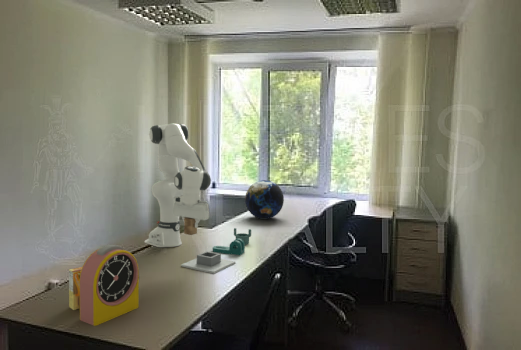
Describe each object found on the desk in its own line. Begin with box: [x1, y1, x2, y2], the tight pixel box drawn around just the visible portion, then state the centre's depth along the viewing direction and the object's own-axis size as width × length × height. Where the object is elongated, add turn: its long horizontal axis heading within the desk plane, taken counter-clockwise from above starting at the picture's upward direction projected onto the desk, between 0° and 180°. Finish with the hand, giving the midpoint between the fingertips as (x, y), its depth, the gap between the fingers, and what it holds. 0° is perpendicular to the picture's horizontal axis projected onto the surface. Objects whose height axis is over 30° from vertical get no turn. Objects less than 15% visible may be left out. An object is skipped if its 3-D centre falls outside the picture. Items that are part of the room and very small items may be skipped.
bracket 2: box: [233, 227, 252, 246], centre depth 283 cm, size 9×9×9 cm
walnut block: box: [183, 218, 198, 236], centre depth 231 cm, size 4×4×8 cm
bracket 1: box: [212, 238, 246, 256], centre depth 263 cm, size 18×7×8 cm, turn 73°
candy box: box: [68, 266, 82, 311], centre depth 180 cm, size 9×4×15 cm, turn 137°
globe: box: [244, 179, 285, 220], centre depth 356 cm, size 30×30×30 cm
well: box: [180, 250, 236, 275], centre depth 238 cm, size 20×20×6 cm
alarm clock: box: [79, 244, 140, 327], centre depth 174 cm, size 21×9×26 cm, turn 148°
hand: (190, 226), depth 231 cm, fingers closed on walnut block, 4 cm apart
